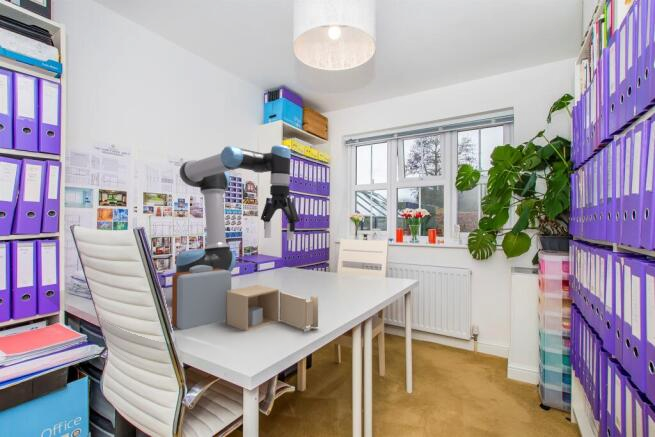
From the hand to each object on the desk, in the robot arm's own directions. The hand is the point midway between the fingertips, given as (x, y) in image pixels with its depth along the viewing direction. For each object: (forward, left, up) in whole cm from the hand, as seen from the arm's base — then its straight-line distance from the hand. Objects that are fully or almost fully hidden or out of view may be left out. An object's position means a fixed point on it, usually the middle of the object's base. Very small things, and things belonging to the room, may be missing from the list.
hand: (278, 239), depth 124 cm
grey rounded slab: (-13, -25, -30) cm, 41 cm away
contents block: (+3, -14, -29) cm, 32 cm away
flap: (+16, -5, -29) cm, 33 cm away
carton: (+2, -14, -30) cm, 33 cm away
